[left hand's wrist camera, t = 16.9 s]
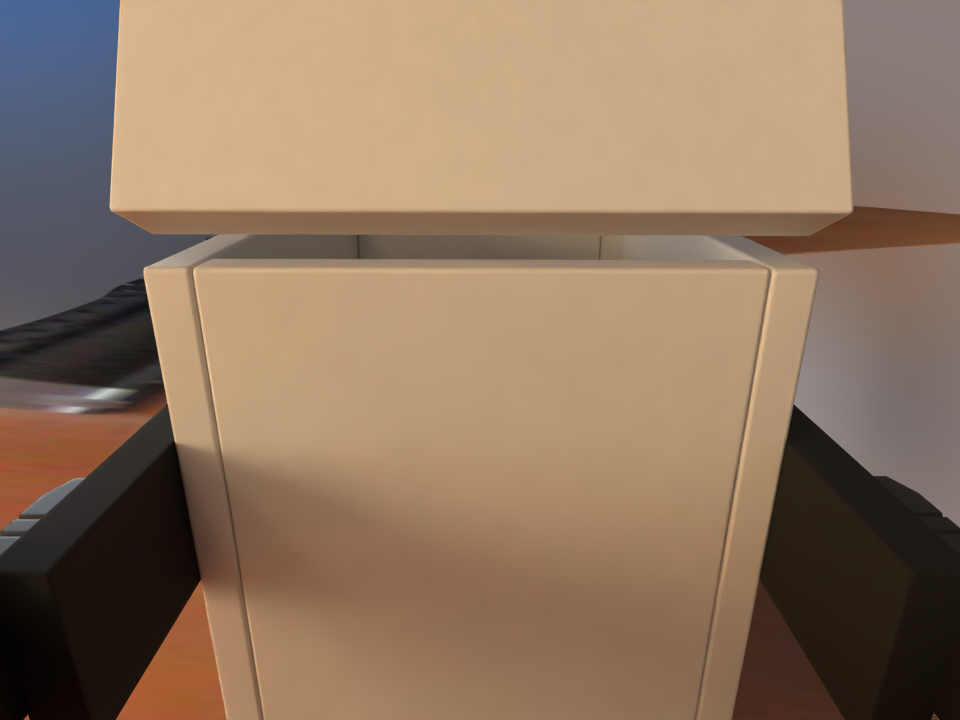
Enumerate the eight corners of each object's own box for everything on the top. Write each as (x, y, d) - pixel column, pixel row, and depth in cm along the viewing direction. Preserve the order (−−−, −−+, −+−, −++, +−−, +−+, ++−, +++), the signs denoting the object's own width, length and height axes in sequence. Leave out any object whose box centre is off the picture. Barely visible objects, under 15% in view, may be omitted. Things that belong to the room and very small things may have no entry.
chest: (356, 461, 25) (336, 181, 22) (599, 461, 25) (622, 182, 22) (239, 795, 13) (138, 267, 9) (719, 794, 13) (822, 269, 9)
